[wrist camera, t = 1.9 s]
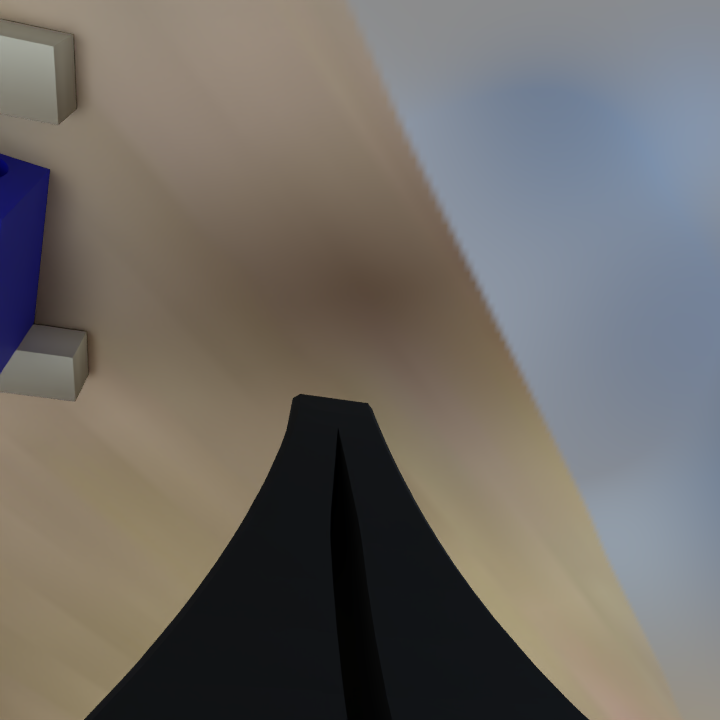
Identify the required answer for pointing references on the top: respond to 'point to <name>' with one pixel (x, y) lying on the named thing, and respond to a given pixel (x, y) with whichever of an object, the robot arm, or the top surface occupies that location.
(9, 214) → the blue cradle block
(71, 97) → the guide channel
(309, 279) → the top surface
